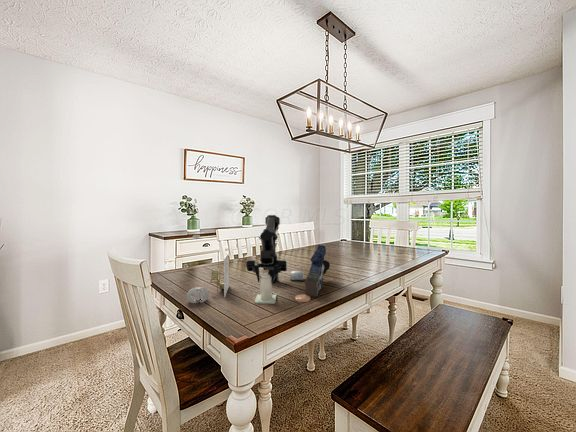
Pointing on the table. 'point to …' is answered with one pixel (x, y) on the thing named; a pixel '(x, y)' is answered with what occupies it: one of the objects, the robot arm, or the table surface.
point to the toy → (316, 272)
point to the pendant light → (197, 289)
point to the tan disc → (302, 298)
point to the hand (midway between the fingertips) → (265, 282)
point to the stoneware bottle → (265, 286)
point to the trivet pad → (259, 301)
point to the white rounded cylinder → (296, 275)
